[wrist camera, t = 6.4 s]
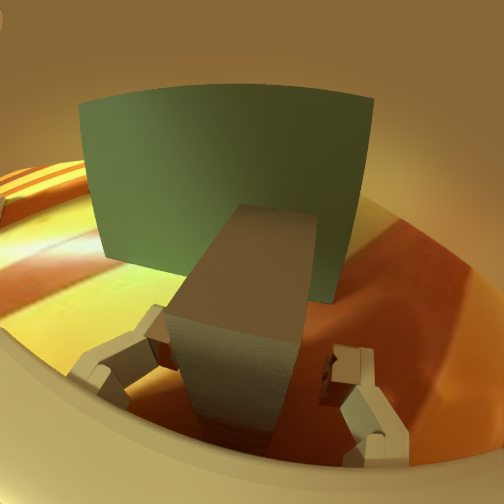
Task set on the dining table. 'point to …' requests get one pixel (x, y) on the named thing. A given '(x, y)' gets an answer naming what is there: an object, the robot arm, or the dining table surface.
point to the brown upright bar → (244, 324)
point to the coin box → (223, 168)
